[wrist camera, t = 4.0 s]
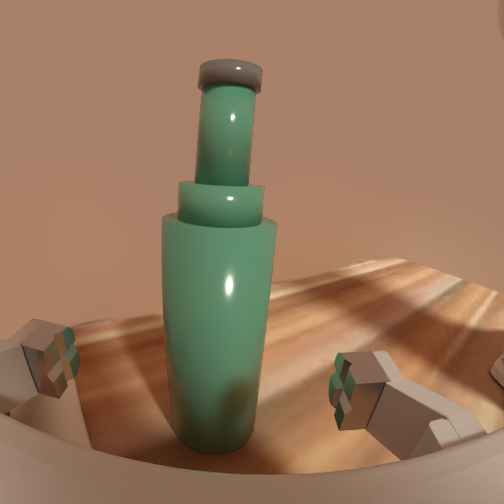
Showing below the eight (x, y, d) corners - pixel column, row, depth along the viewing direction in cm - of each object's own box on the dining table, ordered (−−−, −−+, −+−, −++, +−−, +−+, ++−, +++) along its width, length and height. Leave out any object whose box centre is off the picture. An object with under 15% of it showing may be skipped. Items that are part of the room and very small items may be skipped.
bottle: (227, 389, 21) (247, 88, 15) (270, 434, 17) (314, 72, 11) (161, 409, 18) (158, 73, 13) (195, 464, 14) (205, 38, 9)
